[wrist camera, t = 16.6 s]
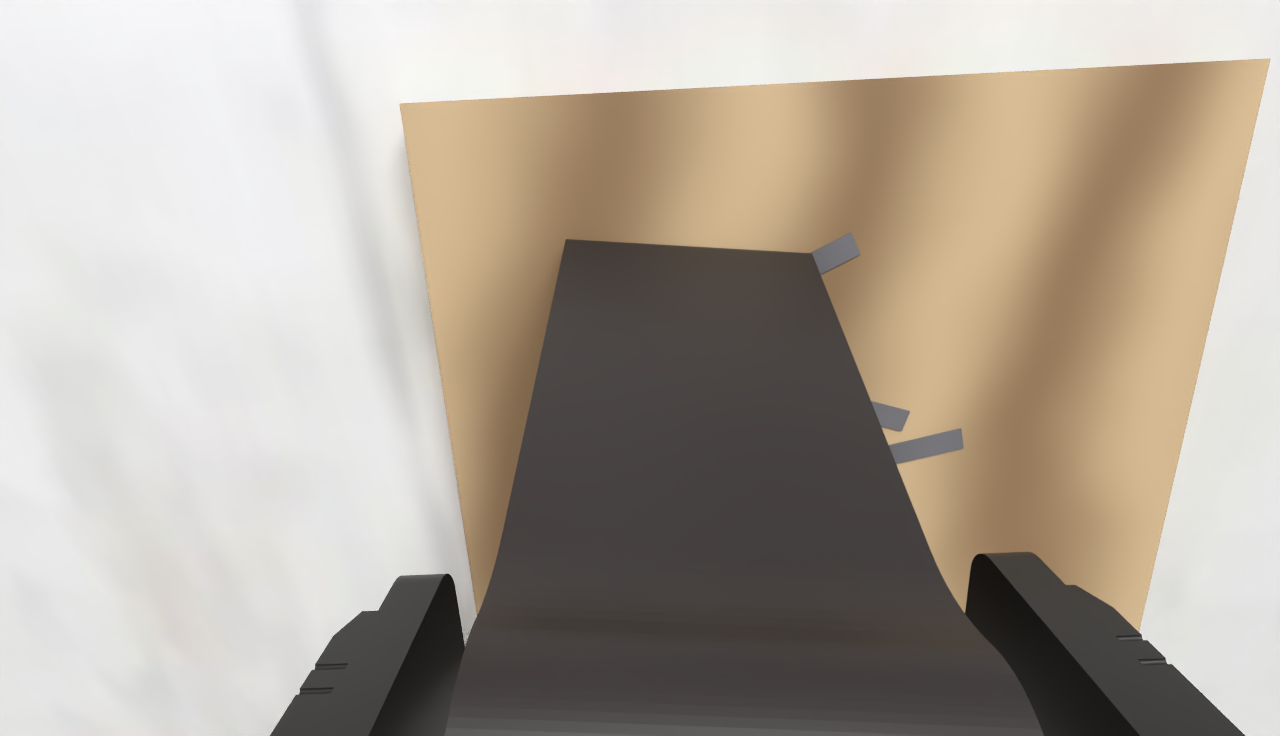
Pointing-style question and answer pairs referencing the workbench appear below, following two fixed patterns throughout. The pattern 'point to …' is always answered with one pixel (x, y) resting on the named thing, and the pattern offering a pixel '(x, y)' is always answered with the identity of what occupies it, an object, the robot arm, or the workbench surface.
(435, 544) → the workbench surface
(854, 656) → the phone stand
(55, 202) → the workbench surface
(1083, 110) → the oak board
